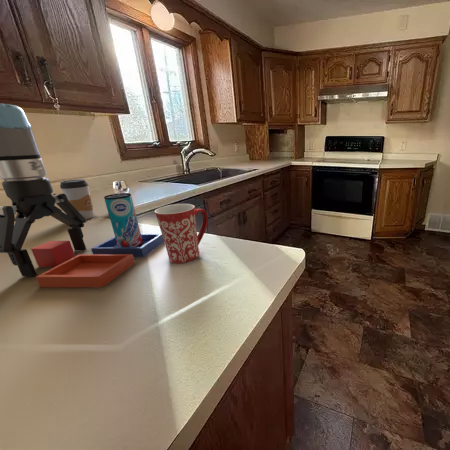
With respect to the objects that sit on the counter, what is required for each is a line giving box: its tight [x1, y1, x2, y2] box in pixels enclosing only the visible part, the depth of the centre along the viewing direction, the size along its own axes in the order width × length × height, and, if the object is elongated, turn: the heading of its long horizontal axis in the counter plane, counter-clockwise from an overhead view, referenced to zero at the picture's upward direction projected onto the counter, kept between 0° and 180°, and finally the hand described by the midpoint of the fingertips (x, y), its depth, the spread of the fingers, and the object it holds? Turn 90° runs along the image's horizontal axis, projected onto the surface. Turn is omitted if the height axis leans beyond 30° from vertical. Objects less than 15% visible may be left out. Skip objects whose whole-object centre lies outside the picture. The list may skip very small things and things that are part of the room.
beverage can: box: [103, 192, 143, 247], centre depth 67 cm, size 6×6×15 cm
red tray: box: [35, 253, 136, 288], centre depth 56 cm, size 14×11×3 cm
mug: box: [154, 203, 209, 264], centre depth 64 cm, size 13×9×14 cm
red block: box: [30, 240, 76, 268], centre depth 62 cm, size 5×5×5 cm
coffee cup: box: [59, 178, 95, 220], centre depth 97 cm, size 8×8×15 cm
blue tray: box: [90, 233, 164, 258], centre depth 70 cm, size 14×11×3 cm
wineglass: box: [112, 179, 130, 194], centre depth 113 cm, size 6×6×12 cm
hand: (57, 261), depth 63 cm, fingers open, 13 cm apart
